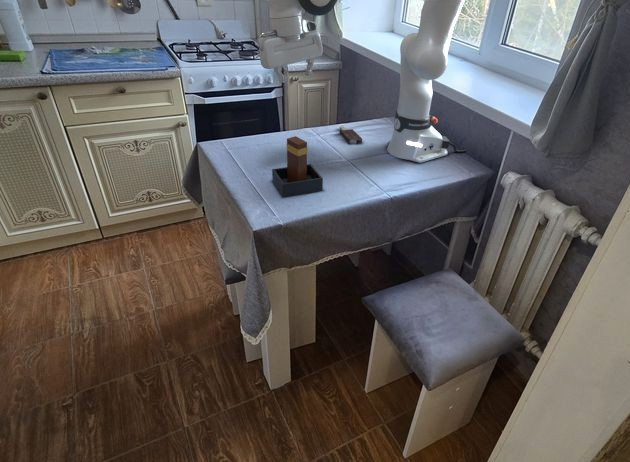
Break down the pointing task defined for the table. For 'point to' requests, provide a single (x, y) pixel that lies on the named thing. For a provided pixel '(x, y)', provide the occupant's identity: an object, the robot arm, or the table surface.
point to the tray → (297, 182)
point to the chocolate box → (296, 159)
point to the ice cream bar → (350, 136)
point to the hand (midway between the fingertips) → (296, 78)
